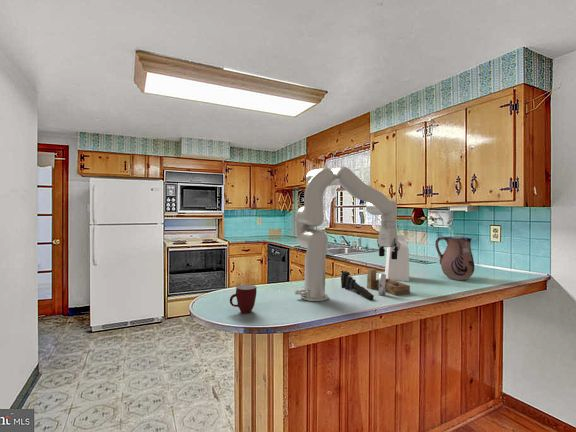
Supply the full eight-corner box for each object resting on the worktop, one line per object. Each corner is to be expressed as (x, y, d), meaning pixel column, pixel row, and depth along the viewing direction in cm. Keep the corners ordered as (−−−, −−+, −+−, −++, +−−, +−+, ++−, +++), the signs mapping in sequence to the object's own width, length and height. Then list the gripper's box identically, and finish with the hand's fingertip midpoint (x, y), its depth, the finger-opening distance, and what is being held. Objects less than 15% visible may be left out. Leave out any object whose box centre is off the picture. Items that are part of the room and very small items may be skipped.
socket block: (409, 293, 157) (409, 285, 157) (395, 295, 153) (395, 287, 153) (387, 285, 172) (388, 278, 172) (374, 287, 168) (374, 279, 168)
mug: (233, 317, 121) (233, 291, 120) (227, 311, 128) (227, 286, 127) (259, 313, 125) (259, 288, 125) (251, 307, 133) (252, 283, 132)
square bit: (370, 289, 164) (371, 270, 164) (367, 287, 167) (367, 268, 167) (375, 288, 165) (376, 269, 165) (372, 287, 168) (372, 268, 168)
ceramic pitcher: (477, 283, 181) (479, 239, 180) (436, 280, 187) (438, 237, 186) (470, 276, 197) (471, 236, 196) (432, 274, 204) (434, 235, 203)
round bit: (381, 296, 152) (381, 275, 152) (377, 294, 155) (377, 274, 155) (386, 295, 153) (387, 274, 153) (382, 293, 156) (382, 273, 156)
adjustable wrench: (367, 310, 146) (339, 286, 168) (372, 309, 147) (344, 285, 169) (369, 293, 144) (341, 271, 167) (374, 293, 145) (346, 271, 168)
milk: (404, 276, 195) (406, 234, 194) (409, 281, 184) (410, 236, 183) (384, 275, 197) (385, 233, 196) (387, 279, 186) (389, 235, 185)
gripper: (372, 223, 171) (371, 255, 172) (394, 225, 155) (393, 260, 156) (383, 223, 174) (382, 254, 174) (406, 225, 158) (405, 260, 158)
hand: (387, 257), depth 165 cm, fingers open, 9 cm apart
